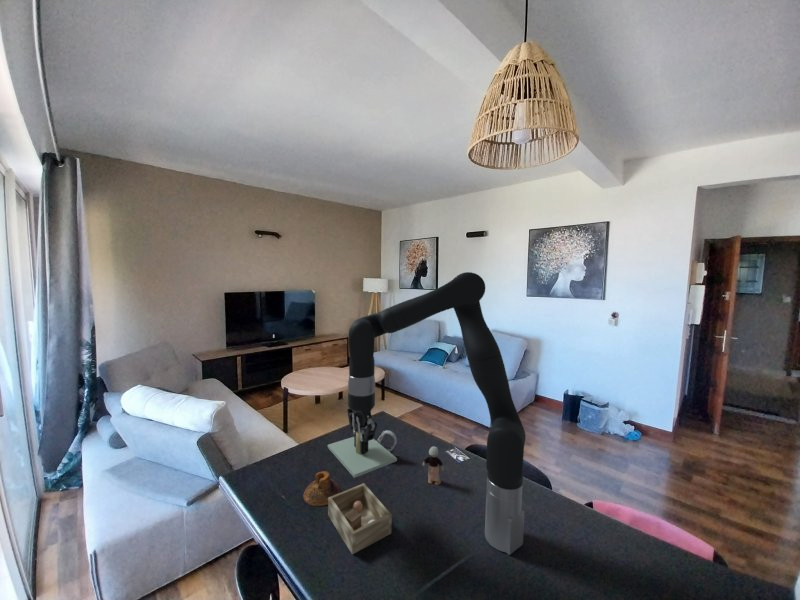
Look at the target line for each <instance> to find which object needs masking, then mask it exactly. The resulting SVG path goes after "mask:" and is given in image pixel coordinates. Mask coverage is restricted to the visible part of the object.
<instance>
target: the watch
mask: <svg viewBox="0 0 800 600" xmlns="http://www.w3.org/2000/svg"><path fill="white" fill-rule="evenodd" d="M386 435H389V436H391V437H392V438H393V440H394V442H393V444H392V446H391V447H389V446H383V447H384V448H385V449H387V450H388V451H389V452H390V453H391V454H393V455H394V456H395V447H396V445H397V443H398V438H397V435H396V434H395V432H394V431H391V430H388V429H386V430H383V431H382V432H381V433H380V434H379V437H378V438H377V440H376V441H377V442H378V443H379V444H380V445H382V444H381V442H382V440H383V439H384V438H385V436H386Z"/></svg>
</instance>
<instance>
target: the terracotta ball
mask: <svg viewBox="0 0 800 600" xmlns="http://www.w3.org/2000/svg"><path fill="white" fill-rule="evenodd" d="M362 507H363V505H362V503H361V501H355V502H354V504H353V509H354V510H355V511H357V512H360V511H361V510H362Z"/></svg>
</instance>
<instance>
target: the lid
mask: <svg viewBox="0 0 800 600" xmlns="http://www.w3.org/2000/svg"><path fill="white" fill-rule="evenodd" d="M363 435H365V432H364V433H363ZM327 449H329V451H330V452H331V453H332V454H333V455H334V457H335V458H336V459H337V460H338V461H339V462H340V463H341V464H342V465H343V467H344V468H345V469H346V470H347V471H348V472H349V474H350V475H351V476H352V478H354V479H355V478H357V477H360V476H363V475H365V474H367V473H370V472H373V471H375V470H377V469H380V468H383V467H385V466H387V465H390V464H393V463H395V462H397V461H398V458H397V457H396V456H395V454H394V455H393V454H391V453H390V452H389V451H388V450H387V449H385V448H384V446H383V445H382V444H381V445H380V444H379V443H378V442H377V440H376V439H375V438H373V440H370V441H368V452H367V453H364V454H362V453H361V452H360V432H358V431H356V448H355V447H354V436H352V437H349V438H345V439H342V440H338V441H335V442H333V443H329V444H327Z"/></svg>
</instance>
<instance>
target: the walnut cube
mask: <svg viewBox="0 0 800 600" xmlns="http://www.w3.org/2000/svg"><path fill="white" fill-rule="evenodd" d="M344 517H345V518H346V520H347V521H348V523H349V524H350V526H351V527H352V529H353V530H354V531H355V530H357V529H358V528H360V527H361V514H360V513H358V512H357V511H355V510H354V509H352V510H351V511H349V512H348V513H346V514H345V515H344Z"/></svg>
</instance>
